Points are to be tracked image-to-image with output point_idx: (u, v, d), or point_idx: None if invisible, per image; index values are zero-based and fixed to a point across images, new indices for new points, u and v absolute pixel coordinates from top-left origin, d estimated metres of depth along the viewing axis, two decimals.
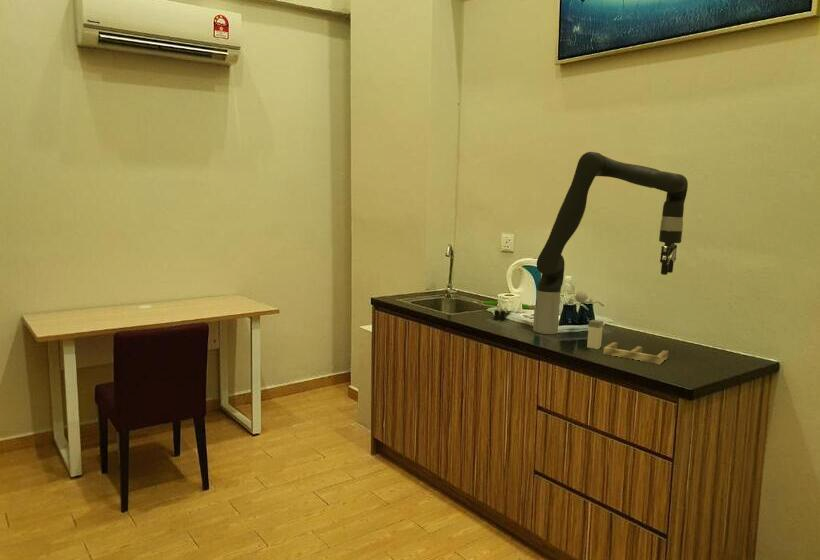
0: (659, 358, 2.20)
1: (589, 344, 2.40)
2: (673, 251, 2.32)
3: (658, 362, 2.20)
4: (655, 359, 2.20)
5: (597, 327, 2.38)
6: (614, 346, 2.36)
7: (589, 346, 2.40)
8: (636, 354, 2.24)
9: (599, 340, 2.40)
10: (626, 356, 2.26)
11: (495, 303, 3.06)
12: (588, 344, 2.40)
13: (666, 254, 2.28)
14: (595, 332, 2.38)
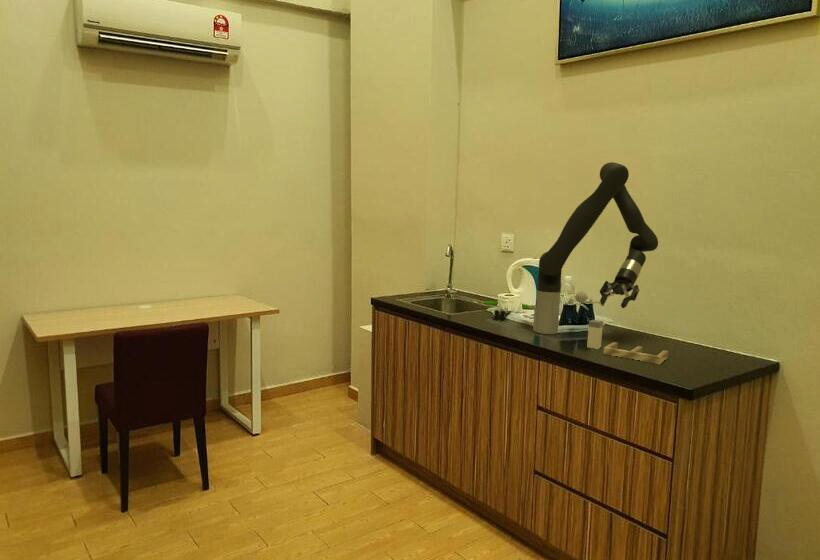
0: (659, 358, 2.20)
1: (589, 344, 2.40)
2: None
3: (658, 362, 2.20)
4: (655, 359, 2.20)
5: (597, 327, 2.38)
6: (614, 346, 2.36)
7: (589, 346, 2.40)
8: (636, 354, 2.24)
9: (599, 340, 2.40)
10: (626, 356, 2.26)
11: (495, 303, 3.06)
12: (588, 344, 2.40)
13: (637, 293, 2.45)
14: (595, 332, 2.38)
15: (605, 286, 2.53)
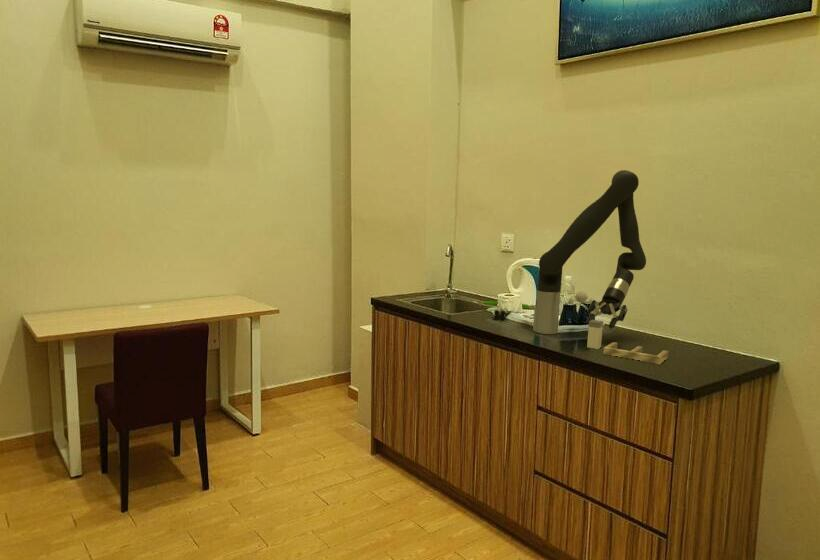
0: (659, 358, 2.20)
1: (589, 344, 2.40)
2: None
3: (658, 362, 2.20)
4: (655, 359, 2.20)
5: (597, 327, 2.38)
6: (614, 346, 2.36)
7: (589, 346, 2.40)
8: (636, 354, 2.24)
9: (599, 340, 2.40)
10: (626, 356, 2.26)
11: (495, 303, 3.06)
12: (588, 344, 2.40)
13: (625, 314, 2.41)
14: (595, 332, 2.38)
15: (592, 305, 2.48)
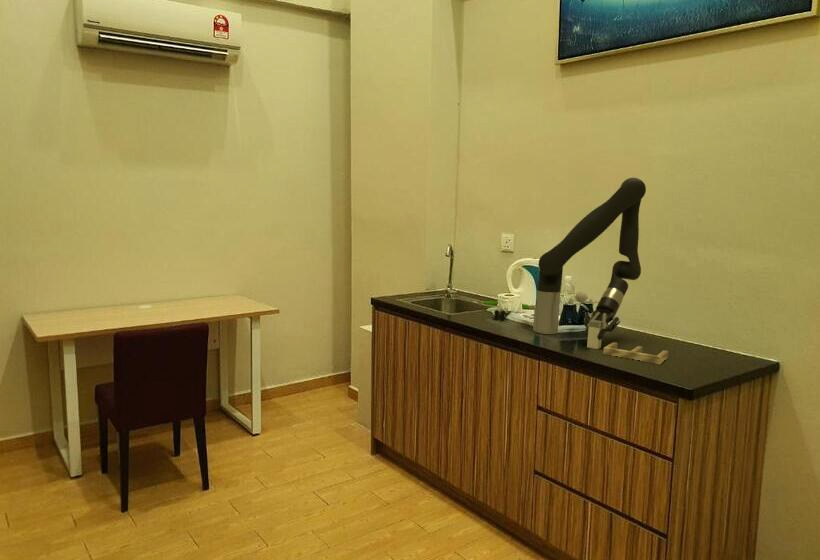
0: (659, 358, 2.20)
1: (589, 344, 2.40)
2: None
3: (658, 362, 2.20)
4: (655, 359, 2.20)
5: (597, 327, 2.38)
6: (614, 346, 2.36)
7: (589, 346, 2.40)
8: (636, 354, 2.24)
9: (599, 340, 2.40)
10: (626, 356, 2.26)
11: (495, 303, 3.06)
12: (588, 344, 2.40)
13: (615, 326, 2.38)
14: (595, 332, 2.38)
15: (587, 317, 2.45)
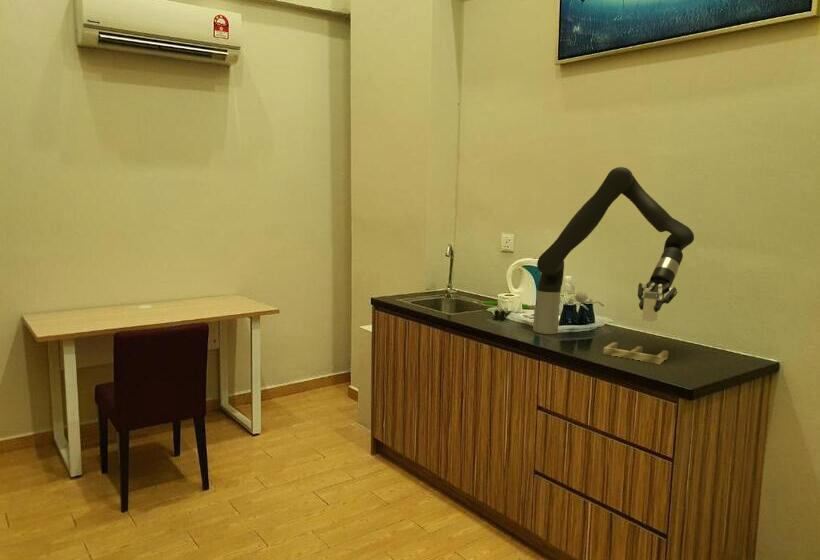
0: (659, 358, 2.20)
1: (645, 317, 2.26)
2: None
3: (658, 362, 2.20)
4: (655, 359, 2.20)
5: (653, 299, 2.24)
6: (614, 346, 2.36)
7: (645, 319, 2.26)
8: (636, 354, 2.24)
9: (656, 313, 2.26)
10: (626, 356, 2.26)
11: (495, 303, 3.06)
12: (643, 317, 2.26)
13: (672, 297, 2.24)
14: (651, 303, 2.24)
15: (641, 288, 2.31)
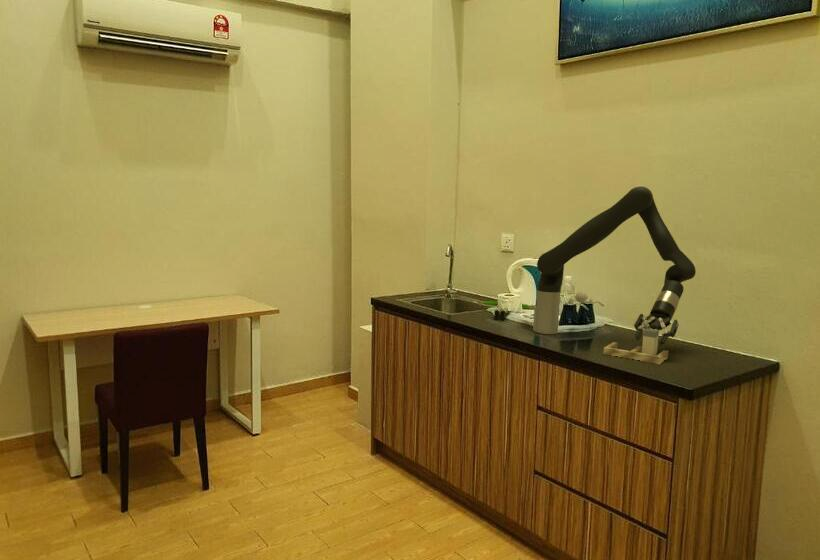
0: (659, 358, 2.20)
1: None
2: None
3: (658, 362, 2.20)
4: (655, 359, 2.20)
5: (652, 337, 2.25)
6: (614, 346, 2.36)
7: None
8: (636, 354, 2.24)
9: (655, 351, 2.27)
10: (626, 356, 2.26)
11: (495, 303, 3.06)
12: None
13: (676, 329, 2.25)
14: (650, 342, 2.25)
15: (640, 320, 2.33)
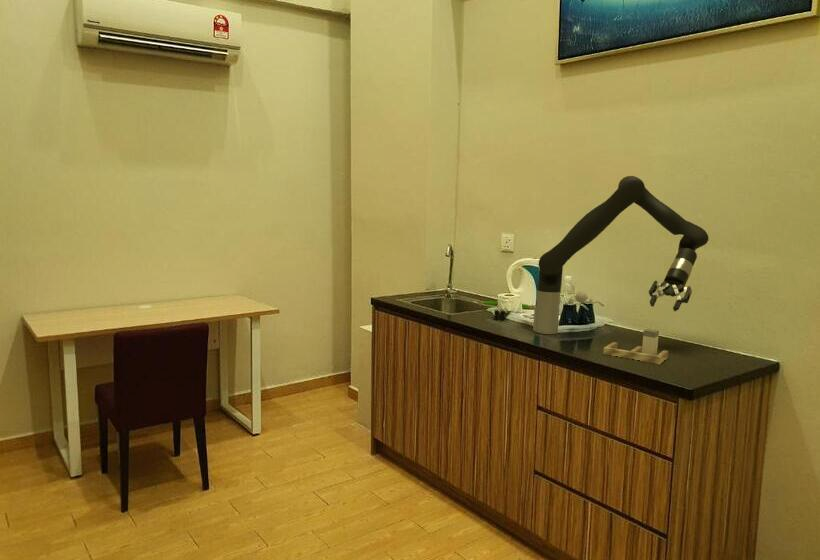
0: (659, 358, 2.20)
1: None
2: None
3: (658, 362, 2.20)
4: (655, 359, 2.20)
5: (652, 337, 2.25)
6: (614, 346, 2.36)
7: None
8: (636, 354, 2.24)
9: (655, 351, 2.27)
10: (626, 356, 2.26)
11: (495, 303, 3.06)
12: None
13: (689, 295, 2.34)
14: (650, 342, 2.25)
15: (654, 286, 2.42)
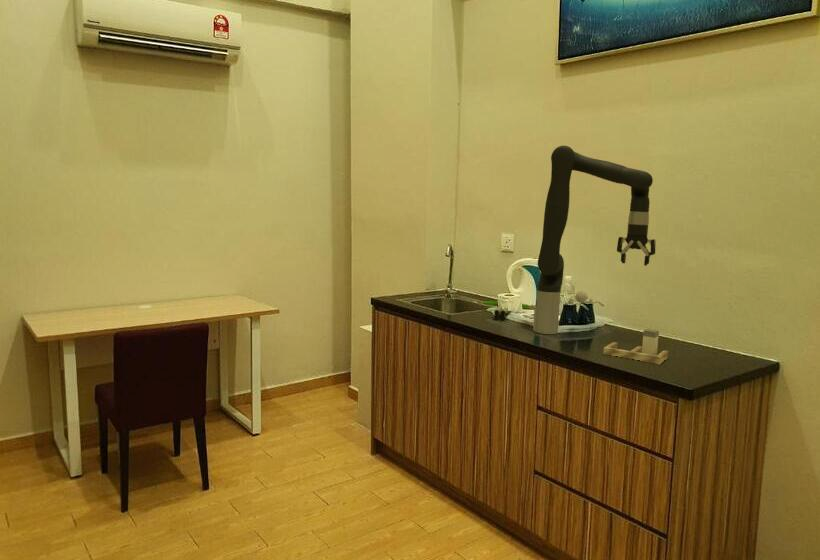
0: (659, 358, 2.20)
1: None
2: None
3: (658, 362, 2.20)
4: (655, 359, 2.20)
5: (652, 337, 2.25)
6: (614, 346, 2.36)
7: None
8: (636, 354, 2.24)
9: (655, 351, 2.27)
10: (626, 356, 2.26)
11: (495, 303, 3.06)
12: None
13: None
14: (650, 342, 2.25)
15: (620, 244, 2.54)
